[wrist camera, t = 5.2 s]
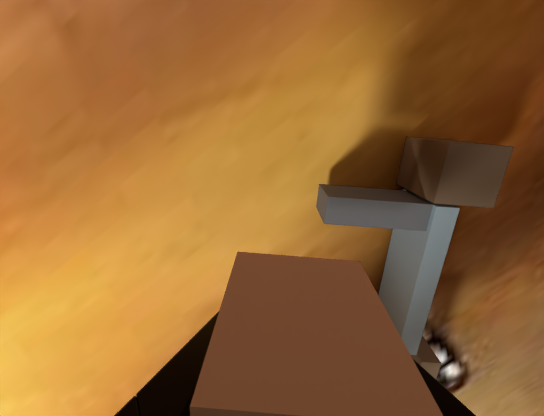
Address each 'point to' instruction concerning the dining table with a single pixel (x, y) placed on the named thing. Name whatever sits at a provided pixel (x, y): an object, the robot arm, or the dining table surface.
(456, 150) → the grey-brown blocks
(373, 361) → the tan rectangular block
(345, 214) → the grey l-shaped bracket
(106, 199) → the dining table surface
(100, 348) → the dining table surface
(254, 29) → the dining table surface
